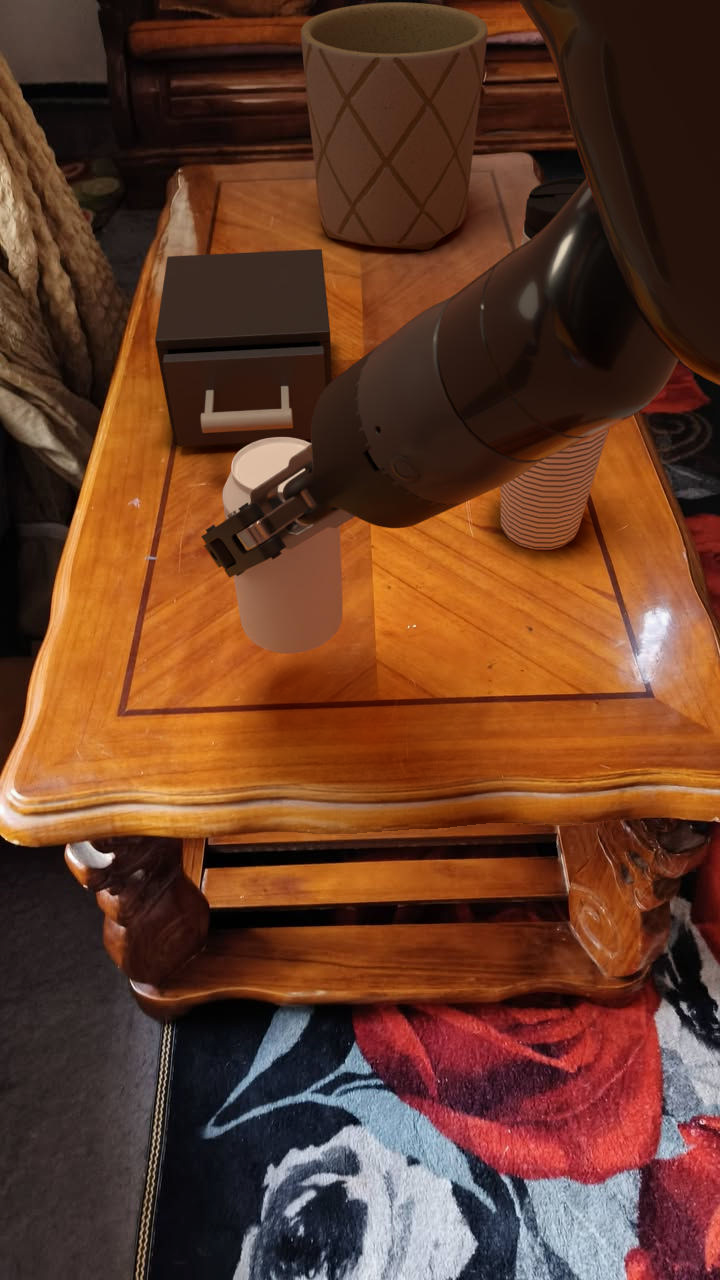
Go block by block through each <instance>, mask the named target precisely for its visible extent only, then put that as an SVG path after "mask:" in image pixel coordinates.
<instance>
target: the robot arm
mask: <svg viewBox="0 0 720 1280" xmlns="http://www.w3.org/2000/svg"><path fill="white" fill-rule="evenodd" d="M518 2H519V3H520V5H521V7H522V8H523V10H524V11H525V13H526V14H527V16H528V17H529V19H530V20H531V22H532V23H533V25H534V27H535V28H536V30H537V31H538V33H539V34H540V36H541V38H542V40H543V42H544V44H545V46H546V48H547V50H548V52H549V55H550V59H551V60H552V64H553V67H554V71H555V74H556V77H557V81H558V84H559V87H560V91H561V95H562V99H563V103H564V107H565V111H566V116H567V119H568V122H569V127H570V131H571V135H572V139H573V141H574V144H575V145H574V146H575V148H576V151H577V154H578V157H579V160H580V163H581V166H582V168H583V172H584V174H585V177H586V179H585V180H584V182H583V183H582V184H581V185H580V186H579V188H578V189H577V190H576V191H575V193H574V194H573V195H572V196H571V198H570V199H569V200H568V201H567V202H566V204H565V205H564V206H563V207H562V209H561V210H560V211H559V212H558V213H557V215H556V216H555V217H554V218H553V219H552V220H551V221H550V222H549V223H548V225H547V226H545V227H544V228H543V229H542V230H541V231H540V232H539V233H538V234H537V235H535V236H534V237H533V238H532V239H530V240H529V241H528V242H526V243H525V244H523V245H521V244H520V246H518V247H516V248H515V249H514V250H511V252H509V253H508V254H506V255H505V256H503V257H502V258H501V259H499V260H498V261H497V262H496V263H494V264H493V265H491V267H489V268H488V269H487V270H485V271H484V272H483V273H481V274H480V275H479V276H477V277H476V278H475V279H473V280H472V281H471V282H469V283H468V284H466V286H464V287H462V289H460V290H459V291H457V292H456V293H455V294H453V295H452V296H450V297H448V298H446V299H444V300H441V301H440V302H439V303H438V302H437V303H435V304H433V305H432V306H430V307H428V308H427V309H425V310H423V311H422V312H420V313H419V314H417V315H416V316H413V318H412V319H410V320H409V321H408V322H406V323H405V324H404V325H402V326H401V327H400V328H399V329H398V330H396V331H395V332H394V333H392V334H391V335H390V336H388V337H387V338H386V339H384V340H382V342H380V343H379V344H378V345H376V346H375V347H374V348H372V349H371V350H370V351H368V352H367V353H366V354H365V355H364V356H362V357H361V358H360V359H358V360H357V361H356V362H355V363H353V364H352V365H351V366H349V367H348V368H347V369H345V370H344V371H343V372H341V373H340V374H339V375H338V376H336V377H335V378H334V379H332V382H331V383H330V384H329V385H328V386H327V387H326V388H325V390H324V391H323V392H322V394H321V396H320V397H319V399H318V401H317V404H316V406H315V409H314V413H313V417H312V423H311V439H310V440H311V441H310V443H311V445H309V446H308V447H306V448H305V449H303V450H302V451H300V452H299V453H297V454H296V455H294V456H293V457H292V458H291V459H290V460H289V464H288V466H287V467H286V468H285V469H283V470H282V471H280V472H279V473H277V474H276V475H274V476H273V477H271V478H270V479H268V480H267V481H265V482H264V483H262V484H261V485H259V486H258V487H256V488H255V489H253V490H252V492H251V494H250V499H251V502H250V504H248V502H247V503H246V504H244V505H243V506H241V507H240V508H238V509H239V510H240V511H239V512H236V511H233V512H232V513H230V514H229V515H227V516H228V519H227V520H226V519H225V520H224V521H222V522H221V523H219V524H218V525H216V524H213V525H211V526H210V527H208V528H206V529H205V531H206V533H204V534H202V535H201V537H200V538H201V539H202V540H203V542H204V543H205V544H204V545H203V547H204V548H205V550H206V551H207V553H208V554H209V556H210V557H211V559H212V560H213V561H214V563H215V565H216V566H217V568H218V569H219V568H223V569H224V570H223V571H224V572H225V573H226V575H227V577H228V578H232V577H234V575H237V576H239V575H240V574H242V573H243V572H245V570H247V569H249V568H251V567H253V566H255V565H257V564H260V563H262V562H264V561H266V560H268V559H269V558H272V560H273V559H275V558H276V557H278V556H279V555H281V554H282V553H281V552H280V551H281V550H283V549H284V548H285V549H292V548H294V547H295V546H297V545H299V544H300V543H302V542H304V541H305V540H307V539H309V538H310V537H312V536H314V535H315V534H317V533H319V532H320V531H322V530H323V529H325V528H327V527H331V528H336V527H339V526H340V527H341V526H342V525H343V524H345V523H347V522H348V521H350V520H352V519H353V518H355V517H356V518H357V519H360V520H361V521H363V522H366V523H368V524H370V525H374V526H376V527H379V528H385V529H404V528H409V527H413V526H416V525H419V524H421V523H422V522H425V521H427V520H430V519H431V518H433V517H436V516H438V515H440V514H442V513H445V512H447V511H449V510H452V509H453V508H455V507H458V506H460V505H462V504H464V503H467V502H468V501H471V500H473V499H476V498H477V497H480V496H482V495H484V494H486V493H489V492H491V491H493V490H495V489H497V488H501V486H502V485H504V484H506V483H508V482H510V481H512V480H513V479H515V478H517V477H519V476H520V475H522V474H523V473H525V472H526V471H528V470H529V469H530V468H532V467H533V466H535V465H536V464H537V463H539V462H540V461H542V460H543V459H545V458H547V457H549V456H552V455H554V454H556V453H558V452H560V451H562V450H565V449H567V448H569V447H571V446H573V445H575V444H578V443H580V442H582V441H584V440H586V439H588V438H590V437H593V436H595V435H597V434H599V433H601V432H603V431H605V430H607V429H609V430H610V429H611V428H613V427H615V426H617V425H620V424H621V423H623V422H625V421H627V420H629V419H631V418H632V417H633V416H635V415H636V414H638V413H640V412H641V411H643V410H644V409H645V408H646V407H647V406H648V405H649V404H651V402H653V400H654V399H655V398H656V397H657V396H658V395H659V394H660V393H661V391H662V390H663V389H664V387H665V386H666V385H667V384H668V383H667V382H669V380H670V378H671V376H672V375H673V372H674V370H675V368H676V366H677V365H678V362H680V363H682V365H684V366H686V367H687V368H688V369H690V370H691V371H692V372H694V373H696V374H697V375H698V376H701V377H702V378H704V379H706V380H708V381H710V382H711V383H713V384H716V385H718V386H720V0H518ZM304 468H305V470H304V471H303V472H301V473H300V474H299V475H297V476H296V477H294V478H293V479H291V480H290V481H289V482H288V483H287V484H286V485H285V486H284V489H283V498H284V500H285V502H284V503H283V501H282V500H281V498H280V496H279V494H278V487H279V485H280V484H282V483H283V482H285V481H286V480H288V479H289V478H291V477H292V476H294V475H295V474H297V473H298V472H300V471H301V470H303V469H304ZM296 519H298V521H300V522H301V523H303V524H309V525H306V526H302V525H300V524H298V523H297V522H296V521H295V520H296Z"/></svg>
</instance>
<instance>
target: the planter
mask: <svg viewBox="0 0 720 1280" xmlns="http://www.w3.org/2000/svg"><path fill="white" fill-rule="evenodd" d="M300 38H301V39H300V40H301V48H302V49H301V51H302V59H303V70H304V82H305V90H306V91H305V92H306V99H307V108H308V117H309V127H310V136H311V144H312V145H311V146H312V154H313V155H312V156H313V164H314V172H315V182H316V193H317V205H318V211H319V217H320V220H321V223H322V226H323V229H324V232H325V234H326V235H327V237H328V238H330V239H333V240H338V241H344V242H349V243H354V244H358V245H362V246H363V245H364V246H369V247H380V248H391V249H392V248H394V249H408V250H417V251H418V250H419V251H428V250H431V249H432V248H433V247H434V246H435V245H436V244H437V242H438V241H440V239H442V238H444V237H446V236H447V235H449V234H450V233H452V232H454V231H456V230H457V229H458V228H459V227H460V226H461V225H462V223H463V222H464V220H465V217H466V213H467V208H468V207H467V206H468V196H469V190H470V189H469V187H470V180H471V172H472V163H473V156H474V148H475V140H476V131H477V125H478V119H479V118H478V117H479V110H480V100H481V93H482V86H483V85H482V84H483V76H484V70H485V62H486V61H485V59H486V52H487V51H486V50H487V41H488V26H487V24H486V22H485V21H484V20H483V19H482V18H480V17H479V16H477V15H475V14H474V13H471V12H468V11H465V10H464V9H463V10H462V9H459V8H455V7H450V6H445V5H441V4H440V5H439V4H433V3H432V4H431V3H423V2H422V3H420V2H400V1H399V2H398V1H397V2H396V1H395V2H392V1H391V2H373V3H364V4H356V5H355V4H354V5H350V6H344V7H339V8H334V9H331V10H327V11H325V12H322V13H319V14H317V15H315V16H313V17H312V18H310V19H309V20H308V19H307V21H305V22H304V24H303V25H302V27H301V30H300Z"/></svg>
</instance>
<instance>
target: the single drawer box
mask: <svg viewBox="0 0 720 1280" xmlns="http://www.w3.org/2000/svg"><path fill="white" fill-rule="evenodd" d="M323 257H324V256H323V250H322V248H315V249H314V248H313V249H293V250H291V249H290V250H274V251H273V250H272V251H252V252H233V253H214V254H213V253H211V254H191V255H189V254H188V255H173V256H170V255H169V256H167V257H166V264H165V270H164V277H163V284H162V290H161V297H160V304H159V311H158V318H157V326H156V330H155V331H156V334H155V339H154V342H155V348H156V353H157V360H158V363H159V369H160V373H161V374H160V375H161V380H162V385H163V391H164V395H165V401H166V407H167V412H168V417H169V423H170V429H171V435H172V440H173V443H174V445H178V440H177V435H176V429H175V424H174V419H173V413H172V408H171V402H170V397H169V392H168V386H167V381H166V375H165V370H164V365H163V359H164V355H165V354H177V351H176V349H190V348H209V347H228V346H247V345H266V344H285V343H304V342H313V347H315V346H323V348H324V363H325V383H326V387H327V386H328V385H329V384H330V383H331V382H332V381H333V368H332V346H331V344H332V343H331V329H330V317H329V309H328V307H329V306H328V298H327V288H326V277H325V268H324V258H323Z"/></svg>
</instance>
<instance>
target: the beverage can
mask: <svg viewBox="0 0 720 1280" xmlns="http://www.w3.org/2000/svg"><path fill="white" fill-rule="evenodd" d="M309 445H311V442H308V441H306V440H305V439H296V438H289V437H274V438H267V439H262V440H259V441H256V442H250V443H249V444H247V445H245V446H244V447H242V448H241V449H240V450H238V451H237V453H236V454H235V455H234V456H233V458H232V461H231V464H230V465H231V466H230V474H229V475H228V477H227V480H226V481H225V484H224V485H223V488H222V496H221V497H222V505H223V506H222V507H223V512H224V519H225V520H227V519H228V516H227V515H229V514H230V513H232V512H233V511H236V512H239V511H240V510H239V509H238V508H240V507H241V506H243V505H244V504H246V503H247V502H248V504H250V502H251V499H250V494H251V492H252V490H253V489H255V488H256V487H258V486H259V485H261V484H262V483H264V482H265V481H267V480H268V479H270V478H271V477H273V476H274V475H276V474H277V473H279V472H280V471H282V470H283V469H285V468H286V467H287V466H288V464H289V460H290V459H291V458H292V457H293V456H294V455H296V454H297V453H299V452H300V451H302V450H303V449H305V448H306V447H308V446H309ZM304 470H305V468H304V469H303V470H301V471H300V472H298V473H297V474H295V475H294V476H292V477H291V478H289V479H288V480H286V481H285V482H283V483H282V484H280V485H279V487H278V494H279V496H280V498H281V500H282V501H283V503H284V502H285V500H284V498H283V489H284V486H285V485H286V484H287V483H288V482H289V481H290V480H291V479H293V478H294V477H296V476H297V475H299V474H300V473H301V472H303V471H304ZM295 521H296V522H297V523H298V524H300V525H302V526H306V525H309V524H303V523H301V522H300V521H298V519H296V520H295ZM341 538H342V537H341V525H340V526H339V527H336V528H331V527H327V528H325V529H323V530H322V531H320V532H319V533H317V534H315V535H314V536H312V537H310V538H309V539H307V540H305V541H304V542H302V543H300V544H299V545H297V546H295V547H294V548H292V549H285V548H284V549H283V550H281V551H280V552H281V553H282V554H281V555H279V556H278V557H276V558H275V559H273V560H272V558H269V559H268V560H266V561H264V562H262V563H260V564H257V565H255V566H253V567H251V568H249V569H247V570H245V572H243V573H242V574H240V575H239V576H237V575H234V576H233V581H234V588H235V593H236V600H237V608H238V613H239V620H240V624H241V627H242V630H243V633H244V634H245V635H246V637H247V638H248V639H249V640H250V641H251V642H252V643H253V644H254V645H256V646H258V647H260V648H261V649H262V650H266V651H269V652H272V653H276V654H284V655H293V654H294V655H295V654H302V653H306V652H310V651H313V650H315V649H318V648H319V647H322V646H323V645H325V644H326V643H328V642H329V641H330V640H331V639H332V638H333V637H334V636H335V635H336V634H337V632H338V631H339V629H340V627H341V626H342V622H343V612H344V610H343V607H344V606H343V601H344V600H343V574H342V573H343V572H342V543H341V542H342V541H341Z"/></svg>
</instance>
